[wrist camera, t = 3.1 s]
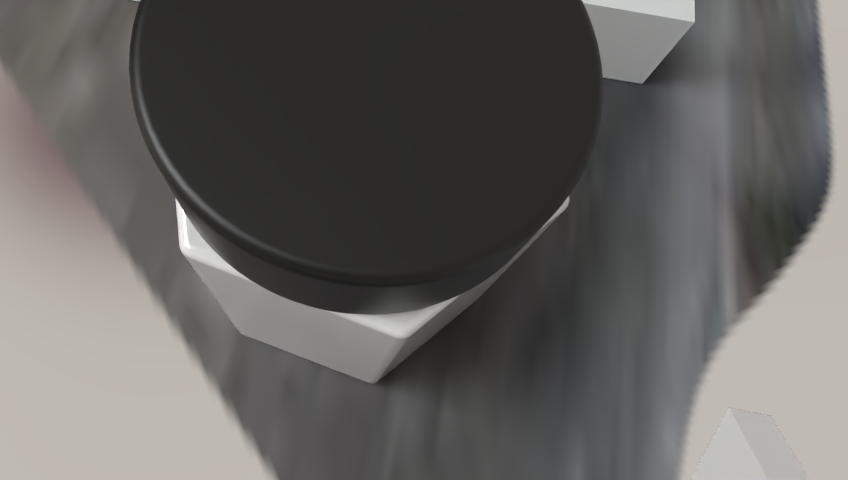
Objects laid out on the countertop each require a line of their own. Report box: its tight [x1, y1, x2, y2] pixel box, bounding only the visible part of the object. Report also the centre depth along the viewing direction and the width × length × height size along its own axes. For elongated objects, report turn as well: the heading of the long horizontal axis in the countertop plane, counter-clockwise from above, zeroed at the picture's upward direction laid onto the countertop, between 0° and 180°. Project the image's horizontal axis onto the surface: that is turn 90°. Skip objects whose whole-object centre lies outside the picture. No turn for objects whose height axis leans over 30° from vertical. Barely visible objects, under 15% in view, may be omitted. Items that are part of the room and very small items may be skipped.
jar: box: [129, 0, 603, 383], centre depth 17 cm, size 9×8×12 cm
